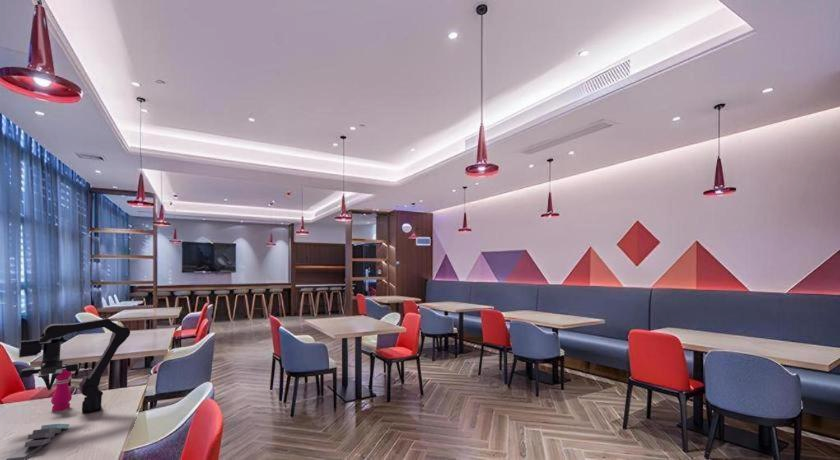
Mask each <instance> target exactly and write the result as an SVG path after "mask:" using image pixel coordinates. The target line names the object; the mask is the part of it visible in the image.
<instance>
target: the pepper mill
mask: <svg viewBox="0 0 840 460" xmlns="http://www.w3.org/2000/svg"><path fill="white" fill-rule="evenodd" d="M63 366H66V365H64V364H63ZM71 376H72V371H71V372H68V371H67V370H62V373H61V374H60V375H57V377H56V379H55V384H56V386H55V387H56V389H55V392H54V393H53V395H52V396H51V401H50V403H51V404H52V406H51V411H52V412H60V411H65V410H68V409H69V407H70V408H71V401H72V398H73V397H72V393H71V391H70V389H69V382H70V377H71Z"/></svg>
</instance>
